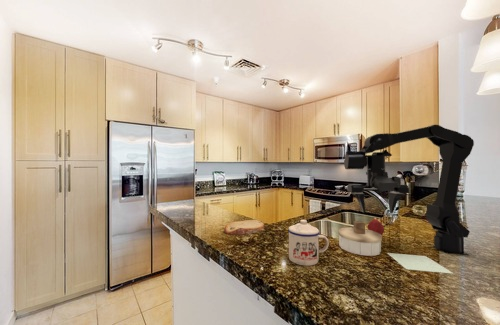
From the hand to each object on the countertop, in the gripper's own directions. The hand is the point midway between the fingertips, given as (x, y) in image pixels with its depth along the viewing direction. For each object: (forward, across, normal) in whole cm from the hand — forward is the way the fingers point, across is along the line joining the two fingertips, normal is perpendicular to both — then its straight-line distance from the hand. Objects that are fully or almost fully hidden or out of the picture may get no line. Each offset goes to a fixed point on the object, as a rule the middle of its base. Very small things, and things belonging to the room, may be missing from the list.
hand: (377, 212), depth 74 cm
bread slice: (+11, -51, +10) cm, 53 cm away
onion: (+12, +3, +10) cm, 16 cm away
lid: (+7, -8, -5) cm, 12 cm away
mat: (+12, +5, -13) cm, 19 cm away
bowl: (+12, -8, -5) cm, 15 cm away
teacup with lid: (+12, -26, -17) cm, 33 cm away
